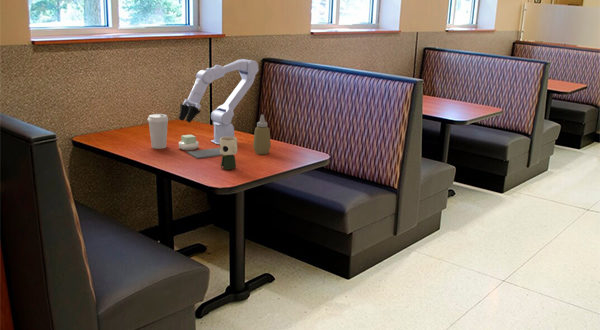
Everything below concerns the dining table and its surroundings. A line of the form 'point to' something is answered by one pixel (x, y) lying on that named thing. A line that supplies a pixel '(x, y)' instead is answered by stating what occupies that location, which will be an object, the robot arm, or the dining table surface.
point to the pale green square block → (188, 139)
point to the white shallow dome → (188, 146)
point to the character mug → (228, 152)
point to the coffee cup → (158, 130)
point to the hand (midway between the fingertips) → (184, 120)
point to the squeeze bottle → (262, 137)
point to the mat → (205, 153)
